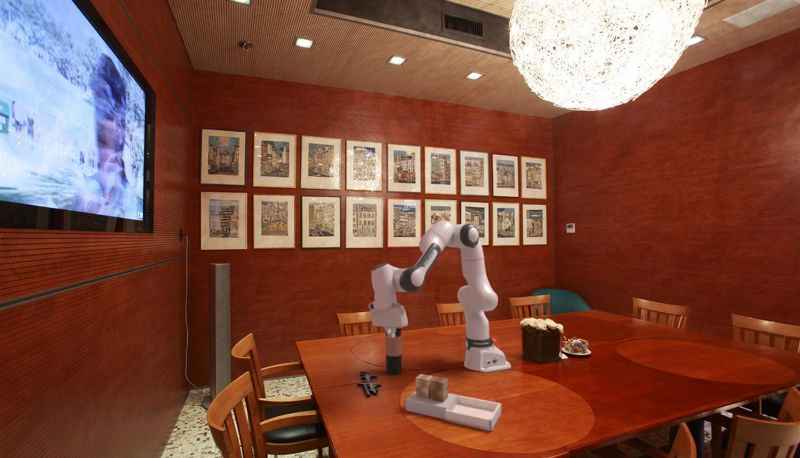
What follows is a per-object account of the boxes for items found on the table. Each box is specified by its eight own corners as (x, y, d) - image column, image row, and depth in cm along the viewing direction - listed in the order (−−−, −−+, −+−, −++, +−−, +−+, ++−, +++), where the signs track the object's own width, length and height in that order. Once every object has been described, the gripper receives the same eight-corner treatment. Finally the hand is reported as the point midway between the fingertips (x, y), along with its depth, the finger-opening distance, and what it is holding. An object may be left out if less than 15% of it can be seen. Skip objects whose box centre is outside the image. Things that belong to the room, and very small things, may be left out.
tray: (445, 420, 128) (445, 410, 128) (459, 404, 141) (458, 395, 141) (491, 431, 121) (491, 420, 121) (501, 413, 133) (501, 403, 133)
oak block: (416, 396, 139) (415, 377, 139) (421, 392, 143) (420, 374, 143) (428, 399, 137) (427, 380, 137) (433, 394, 141) (432, 376, 141)
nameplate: (352, 372, 175) (373, 369, 177) (352, 375, 175) (373, 373, 177) (361, 395, 148) (386, 392, 151) (361, 399, 148) (386, 396, 151)
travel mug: (400, 375, 172) (399, 332, 173) (384, 374, 173) (383, 331, 174) (403, 369, 179) (402, 328, 180) (388, 369, 181) (387, 327, 182)
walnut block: (430, 399, 136) (430, 380, 136) (435, 395, 140) (435, 376, 140) (443, 402, 134) (443, 382, 134) (448, 397, 138) (447, 378, 138)
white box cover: (405, 410, 137) (405, 399, 137) (419, 397, 147) (419, 387, 147) (446, 419, 129) (446, 408, 129) (458, 405, 140) (457, 395, 140)
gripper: (408, 301, 146) (414, 336, 145) (378, 302, 162) (383, 334, 161) (396, 304, 142) (402, 341, 141) (366, 305, 158) (371, 338, 157)
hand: (391, 337), depth 151 cm, fingers closed
